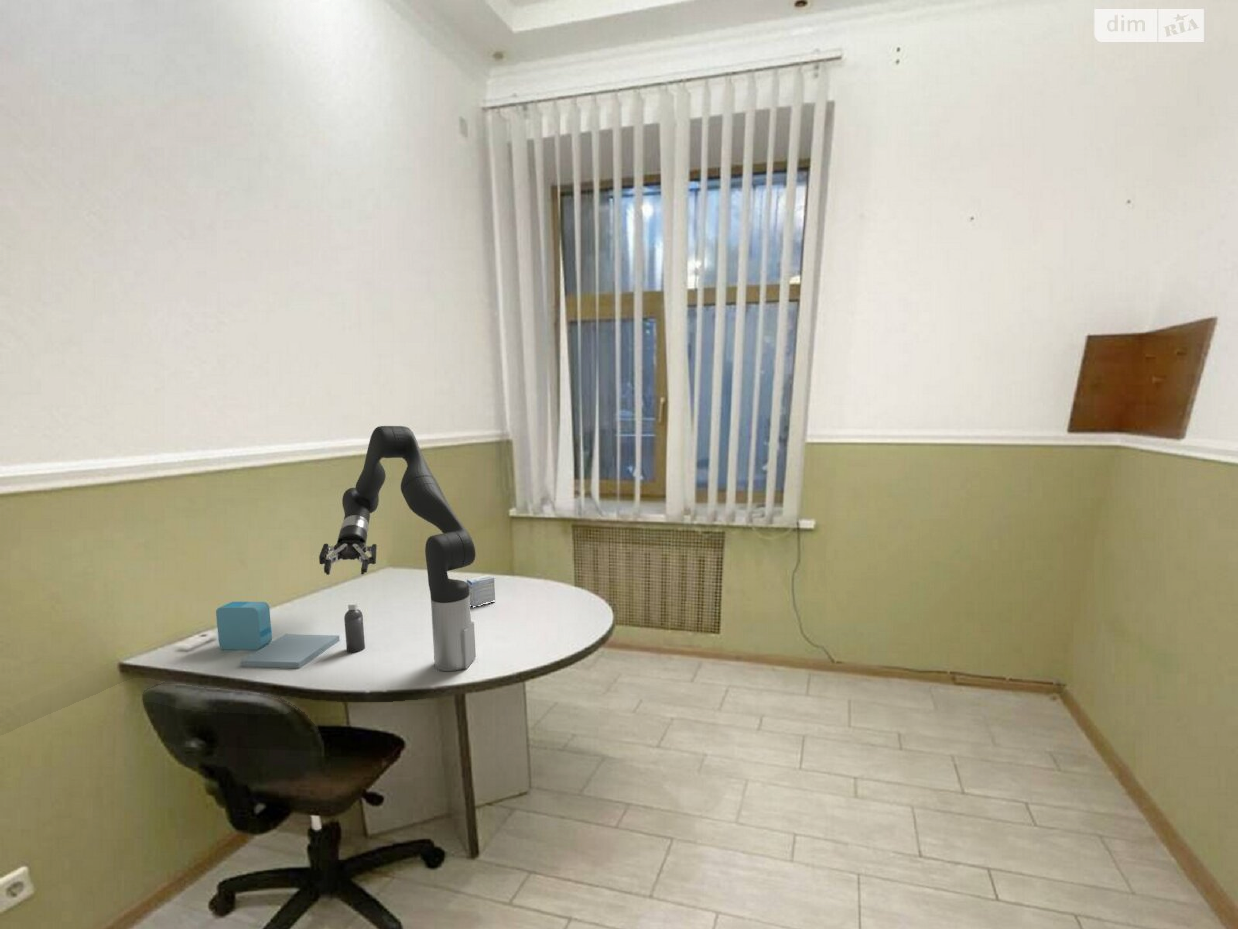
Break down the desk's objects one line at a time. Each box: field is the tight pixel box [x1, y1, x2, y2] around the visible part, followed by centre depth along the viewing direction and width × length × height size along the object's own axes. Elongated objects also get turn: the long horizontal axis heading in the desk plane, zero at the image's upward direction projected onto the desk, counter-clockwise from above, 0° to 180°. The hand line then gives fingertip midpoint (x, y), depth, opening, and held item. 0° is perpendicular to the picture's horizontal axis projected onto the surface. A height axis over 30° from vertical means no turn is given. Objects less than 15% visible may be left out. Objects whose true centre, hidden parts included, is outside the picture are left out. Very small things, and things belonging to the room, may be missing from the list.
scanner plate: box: [239, 633, 340, 669], centre depth 141 cm, size 16×16×2 cm
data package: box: [215, 601, 273, 651], centre depth 145 cm, size 12×4×12 cm, turn 86°
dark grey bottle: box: [343, 603, 366, 654], centre depth 142 cm, size 4×4×12 cm
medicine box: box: [466, 574, 496, 607], centre depth 174 cm, size 8×4×9 cm, turn 130°
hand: (345, 572), depth 144 cm, fingers open, 8 cm apart
